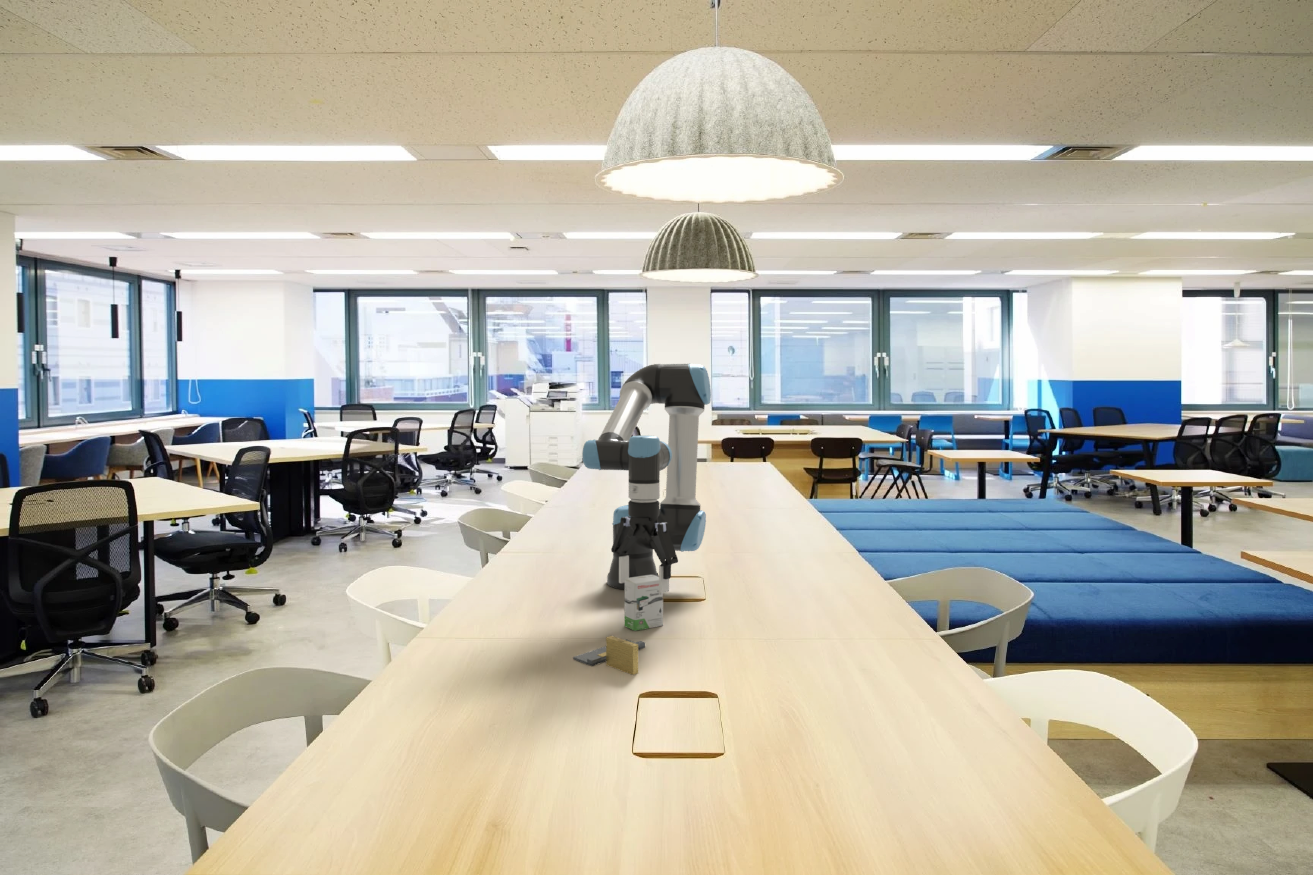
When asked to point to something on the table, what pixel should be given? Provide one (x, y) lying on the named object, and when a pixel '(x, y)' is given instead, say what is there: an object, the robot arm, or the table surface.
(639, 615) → the ink box
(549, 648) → the table surface
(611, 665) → the rail
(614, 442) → the robot arm
